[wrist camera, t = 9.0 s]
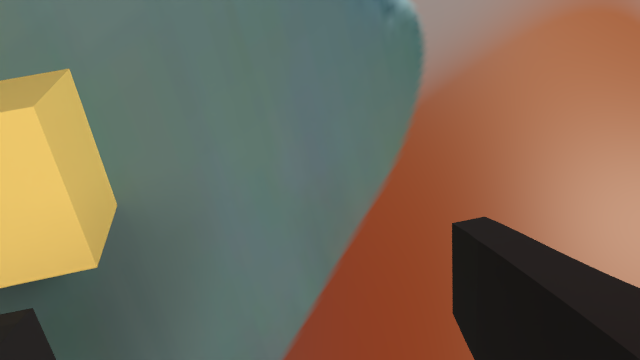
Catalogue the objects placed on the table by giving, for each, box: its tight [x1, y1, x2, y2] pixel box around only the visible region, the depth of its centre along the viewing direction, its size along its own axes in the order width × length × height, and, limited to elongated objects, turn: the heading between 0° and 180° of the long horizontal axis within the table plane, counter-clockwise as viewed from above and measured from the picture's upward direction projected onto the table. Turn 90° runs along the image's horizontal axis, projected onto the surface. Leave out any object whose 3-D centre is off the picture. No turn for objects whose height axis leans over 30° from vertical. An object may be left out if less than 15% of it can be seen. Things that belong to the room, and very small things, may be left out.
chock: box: [0, 69, 117, 288], centre depth 16 cm, size 5×4×4 cm
